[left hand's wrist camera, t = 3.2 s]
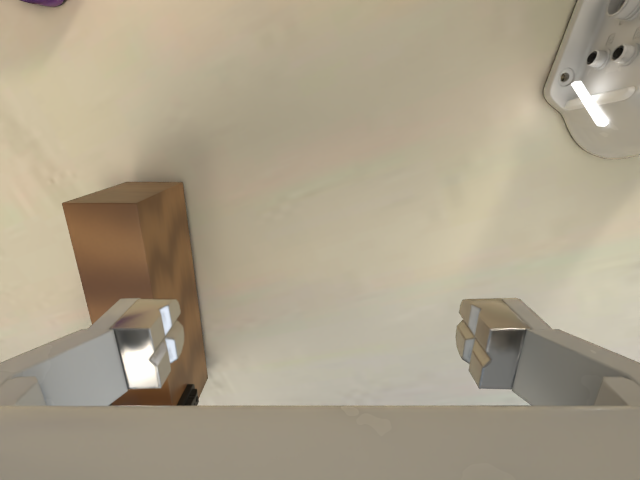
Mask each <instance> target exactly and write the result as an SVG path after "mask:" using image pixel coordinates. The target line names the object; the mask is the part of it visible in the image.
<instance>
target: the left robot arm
mask: <svg viewBox="0 0 640 480" xmlns="http://www.w3.org/2000/svg"><path fill="white" fill-rule="evenodd" d="M562 74H564V76H565V78H564V80H563V81H561V75H562ZM544 97H545V99H546V101H547V102H548V103H549V104H550V105H551V106H552V107H554V108H555V109H556V110H557V111H559V112H560V113H561V115H562V116H563V118H564V120H565V123H566V125H567V128H568V130H569V132H570V134H571V136H572V137H573V139H574V140H575V141H576V143H577V144H578V145H579V146H580V147H582V148H583V149H584V150H585V151H587V152H589V153H591V154H593V155H595V156H598V157H602V158H607V159H623V158H629V157H634V156H639V155H640V0H577V3H576V6H575V8H574V11H573V14H572V16H571V19H570V21H569V24H568V27H567V29H566V32H565V34H564V37H563V40H562V42H561V45H560V48H559V50H558V53H557V55H556V58H555V61H554V63H553V66H552V68H551V71H550V74H549V76H548V79H547V81H546V84H545V87H544ZM180 314H181V310H180V305H179V302H178V301H177V300H176V299H151V298H142V299H141V298H124V299H120V300H119V301H117V302H116V303H115V304H114V305H113V306H112V307H111V308H110V309H109V310H108V311H107V312H105V313H104V314H103V315H102V316H101V317H100V318H99V319H98V320H97V321H96V322H95V323H94V324H92V325H91V326H90V327H89V328H88V329H81V330H79V331H76V332H74V333H71V334H69V335H67V336H64V337H62V338H59V339H57V340H54V341H52V342H50V343H47V344H45V345H42V346H40V347H37V348H35V349H33V350H30V351H28V352H25V353H23V354H20V355H18V356H16V357H13V358H11V359H8V360H6V361H4V362H1V363H0V480H640V363H639V362H636V361H634V360H631V359H629V358H627V357H624V356H622V355H619V354H617V353H615V352H612V351H610V350H607V349H605V348H602V347H600V346H598V345H595V344H593V343H590V342H588V341H586V340H583V339H581V338H578V337H576V336H573V335H571V334H569V333H566V332H564V331H561V330H559V329H552V328H551V327H550V326H549V325H548V324H546V323H545V322H544V321H543V320H542V319H541V318H540V317H539V316H538V315H537V314H536V313H535V312H534V311H532V310H531V309H530V308H529V307H528V306H527V305H526V304H525V303H524V302H523V301H522V300H521V299H518V298H494V299H465V300H462V302H461V305H460V310H459V314H460V315H461V317H462V318H463V320H462V321H461V322H460V323H459V324H458V326H457V329H456V346H457V349H458V352H459V354H460V356H461V358H462V359H463V360H464V361H466V362H467V363H469V364H470V366H469V372H470V374H471V375H472V377H473V379H474V380H475V382H476V384H477V386H478V387H479V388H483V389H512V391H513V392H514V393H516V394H517V395H518V396H520V397H521V398H522V399H524V400H525V401H526V402H528V403H529V404H530V405H532V406H109V405H110V404H111V403H113V402H114V401H115V400H117V399H118V398H119V397H121V396H122V395H123V394H125V393H126V392H127V391H128V389H156V388H161V387H162V386H163V384H164V382H165V380H166V379H167V377H168V375H169V374H170V372H171V366H170V364H171V363H173V362H174V361H176V360H177V359H178V358H179V356H180V354H181V352H182V349H183V345H184V328H183V326H182V324H181V323H180V322H179V321H178V320H177V318H178V317H179V315H180Z"/></svg>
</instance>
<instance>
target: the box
mask: <svg viewBox="0 0 640 480" xmlns="http://www.w3.org/2000/svg"><path fill="white" fill-rule="evenodd" d="M62 205H63V209H64V214H65V218H66V222H67V226H68V230H69V234H70V238H71V242H72V246H73V250H74V254H75V258H76V262H77V266H78V270H79V274H80V278H81V282H82V286H83V290H84V294H85V298H86V302H87V306H88V310H89V314H90V318H91V322H92V324H94V323H95V322H96V321H97V320H98V319H99V318H100V317H101V316H102V315H103V314H104V313H105V312H107V311H108V310H109V309H110V308H111V307H112V306H113V305H114V304H115V303H116V302H117V301H119V300H120V299H124V298H141V299H142V298H151V299H176V300H177V301H178V302H179V305H180V310H181V314H180V315H179V317H178V318H177V320H178V321H179V322H180V323H181V324H182V326H183V328H184V345H183V349H182V352H181V354H180V356H179V358H178V359H177V360H176V361H174V362H173V363H171V364H170V366H171V372H170V374H169V375H168V377H167V379H166V380H165V382H164V384H163V386H162V387H161V388H156V389H128V391H127V392H126V393H125V394H123V395H122V396H121V397H119V398H118V399H117V400H115V401H114V402H113V403H112V406H176V405H177V403H178V401H179V400H180V398H181V396H182V394H183V392H184V390H185V388H186V386H187V384H194V385H195V389H197V392H198V399H199V397H200V394H201V392H202V390H203V388H204V385H205V383H206V381H207V379H208V375H207V367H206V360H205V352H204V344H203V337H202V329H201V321H200V313H199V306H198V298H197V290H196V283H195V275H194V267H193V259H192V252H191V244H190V236H189V228H188V221H187V213H186V205H185V198H184V190H183V183H182V182H125V183H122V184H119V185H116V186H113V187H110V188H107V189H104V190H101V191H98V192H95V193H92V194H88V195H85V196H82V197H79V198H76V199H73V200H70V201H67V202H64V203H62Z"/></svg>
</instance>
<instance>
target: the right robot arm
mask: <svg viewBox="0 0 640 480" xmlns="http://www.w3.org/2000/svg"><path fill="white" fill-rule="evenodd" d="M198 402H199V400H198V392H197V389H195V385H194V384H187V386H186V388H185V390H184V392H183V394H182V396H181V398H180V400H179V401H178V403H177V405H176V406H197V404H198ZM109 406H112V403H111V404H110V405H109Z"/></svg>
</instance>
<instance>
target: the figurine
mask: <svg viewBox="0 0 640 480" xmlns="http://www.w3.org/2000/svg"><path fill="white" fill-rule="evenodd" d="M21 1H24V2H28V3H33V4H39V5H43V6H50V7H56V6H58V5H61V4H62V3H63V1H64V0H21Z"/></svg>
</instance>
